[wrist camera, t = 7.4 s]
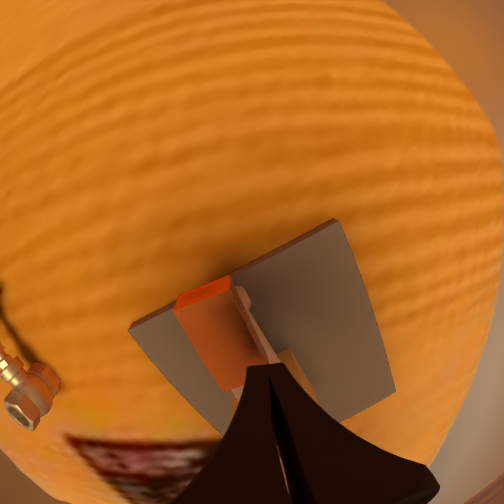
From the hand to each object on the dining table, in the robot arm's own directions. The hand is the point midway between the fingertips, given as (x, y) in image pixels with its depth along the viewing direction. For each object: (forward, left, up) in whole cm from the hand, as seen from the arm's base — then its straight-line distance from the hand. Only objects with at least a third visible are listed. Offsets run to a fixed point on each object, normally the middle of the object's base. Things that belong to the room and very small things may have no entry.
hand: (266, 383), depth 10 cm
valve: (+5, +23, -10) cm, 25 cm away
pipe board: (-7, +2, -9) cm, 12 cm away
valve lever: (-2, +1, -4) cm, 5 cm away
